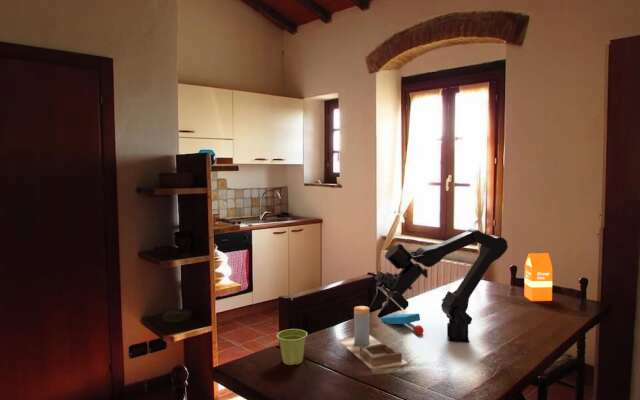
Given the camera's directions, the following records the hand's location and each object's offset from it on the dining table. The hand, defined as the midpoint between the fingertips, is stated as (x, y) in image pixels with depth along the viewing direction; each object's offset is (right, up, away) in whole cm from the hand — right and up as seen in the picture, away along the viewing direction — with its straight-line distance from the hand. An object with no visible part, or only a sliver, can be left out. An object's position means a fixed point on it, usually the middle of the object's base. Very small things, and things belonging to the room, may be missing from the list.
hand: (374, 312), depth 159 cm
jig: (-2, -12, -6) cm, 13 cm away
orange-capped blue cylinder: (-4, -10, 0) cm, 11 cm away
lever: (+13, -10, +18) cm, 24 cm away
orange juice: (+78, -6, +52) cm, 94 cm away
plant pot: (-26, -13, -11) cm, 31 cm away
